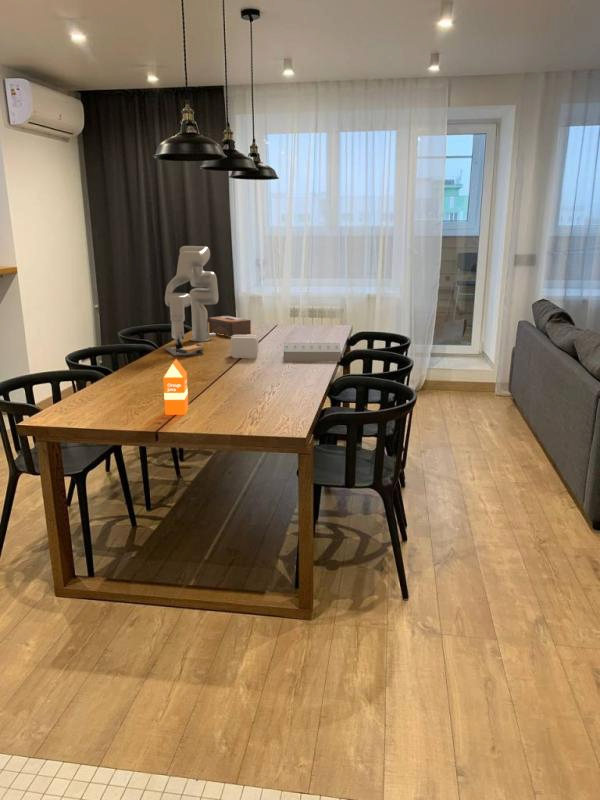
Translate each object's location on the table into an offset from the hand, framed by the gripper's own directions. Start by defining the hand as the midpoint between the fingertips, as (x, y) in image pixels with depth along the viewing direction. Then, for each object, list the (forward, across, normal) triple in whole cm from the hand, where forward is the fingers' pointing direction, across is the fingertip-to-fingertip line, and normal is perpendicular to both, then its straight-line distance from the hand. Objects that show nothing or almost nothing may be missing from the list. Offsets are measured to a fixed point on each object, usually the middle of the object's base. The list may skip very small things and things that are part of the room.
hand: (179, 351), depth 342 cm
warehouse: (+3, +36, +63) cm, 73 cm away
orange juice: (+1, +103, -26) cm, 106 cm away
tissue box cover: (+4, -55, +47) cm, 73 cm away
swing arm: (-1, +2, +6) cm, 7 cm away
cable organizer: (+2, +18, +31) cm, 36 cm away
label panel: (+2, -8, +4) cm, 9 cm away
